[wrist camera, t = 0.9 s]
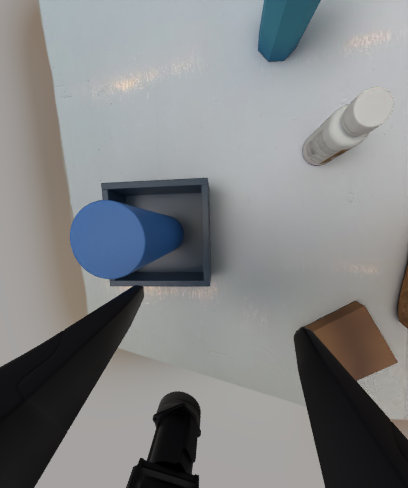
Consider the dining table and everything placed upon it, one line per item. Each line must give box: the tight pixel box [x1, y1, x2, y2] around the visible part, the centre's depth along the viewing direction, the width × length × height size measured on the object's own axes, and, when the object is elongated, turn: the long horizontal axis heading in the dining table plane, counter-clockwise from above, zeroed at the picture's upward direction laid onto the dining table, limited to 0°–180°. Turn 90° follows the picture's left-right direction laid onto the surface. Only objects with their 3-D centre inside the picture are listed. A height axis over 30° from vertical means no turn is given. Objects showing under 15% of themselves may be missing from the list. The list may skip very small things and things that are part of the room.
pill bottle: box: [303, 87, 394, 165], centre depth 18 cm, size 4×4×8 cm
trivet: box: [296, 301, 397, 381], centre depth 23 cm, size 10×10×2 cm
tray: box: [101, 178, 211, 286], centre depth 22 cm, size 14×14×5 cm
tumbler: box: [70, 200, 184, 279], centre depth 17 cm, size 6×6×13 cm
